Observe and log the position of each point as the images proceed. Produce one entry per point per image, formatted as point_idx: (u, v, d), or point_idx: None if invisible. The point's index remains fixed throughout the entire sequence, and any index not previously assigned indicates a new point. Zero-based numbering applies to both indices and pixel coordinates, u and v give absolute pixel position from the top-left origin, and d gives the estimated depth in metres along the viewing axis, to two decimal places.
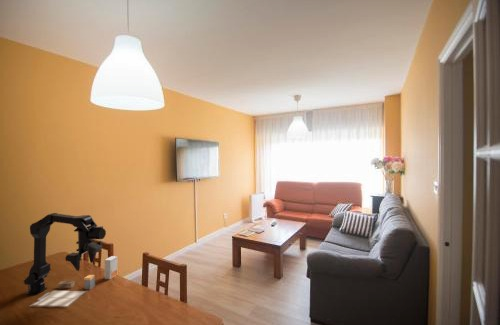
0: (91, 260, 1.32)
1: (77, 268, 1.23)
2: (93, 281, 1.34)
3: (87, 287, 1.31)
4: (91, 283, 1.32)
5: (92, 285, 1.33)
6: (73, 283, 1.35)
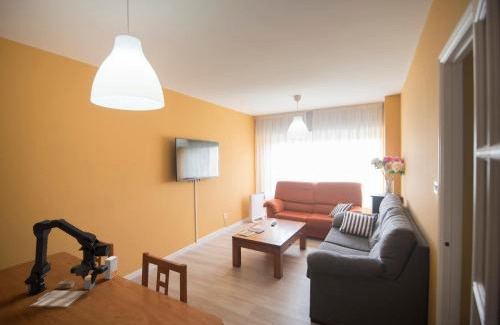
0: None
1: None
2: None
3: (87, 287, 1.31)
4: (91, 283, 1.32)
5: (92, 285, 1.33)
6: (73, 283, 1.35)
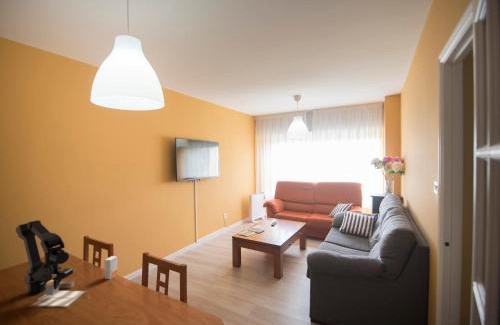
0: None
1: None
2: None
3: (49, 293, 1.21)
4: (54, 288, 1.22)
5: (55, 290, 1.22)
6: (73, 283, 1.35)
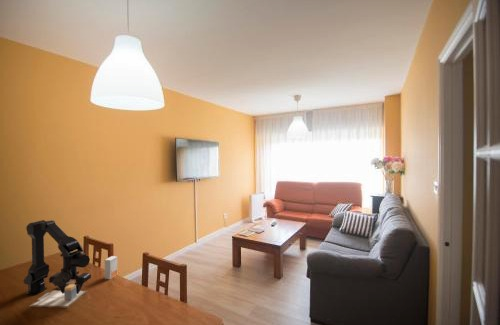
0: None
1: None
2: (74, 291, 1.23)
3: (67, 298, 1.20)
4: (72, 293, 1.21)
5: (73, 296, 1.22)
6: (73, 283, 1.35)
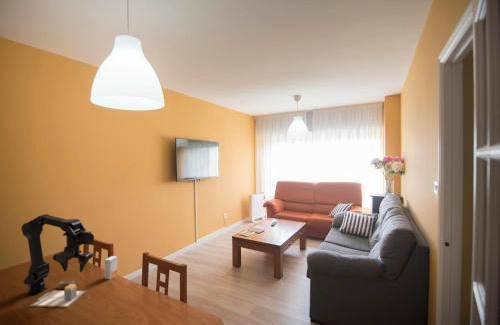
0: None
1: None
2: (74, 291, 1.23)
3: (67, 298, 1.20)
4: (72, 293, 1.21)
5: (73, 296, 1.22)
6: (73, 283, 1.35)
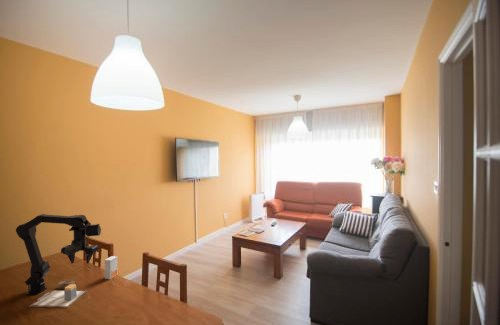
0: None
1: None
2: (74, 291, 1.23)
3: (67, 298, 1.20)
4: (72, 293, 1.21)
5: (73, 296, 1.22)
6: (73, 283, 1.35)
